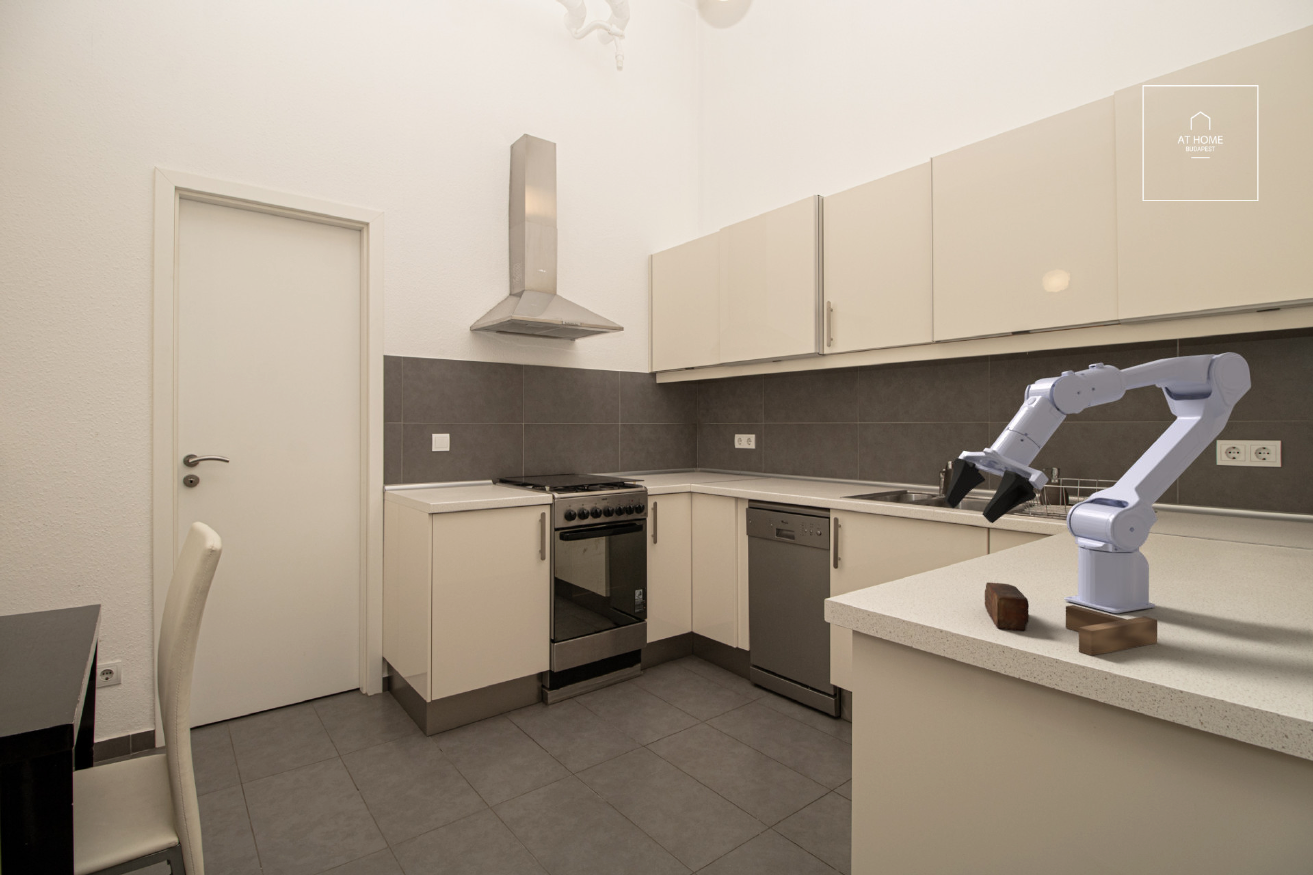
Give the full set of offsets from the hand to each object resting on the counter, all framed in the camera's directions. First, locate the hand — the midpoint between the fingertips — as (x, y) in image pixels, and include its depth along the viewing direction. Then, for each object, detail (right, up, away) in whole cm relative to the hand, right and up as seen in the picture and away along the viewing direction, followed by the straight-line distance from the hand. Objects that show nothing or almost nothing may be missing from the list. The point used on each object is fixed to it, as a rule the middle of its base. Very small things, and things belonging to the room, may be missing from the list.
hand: (967, 511), depth 95 cm
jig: (+10, -15, -13) cm, 22 cm away
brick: (+3, -15, -5) cm, 16 cm away
